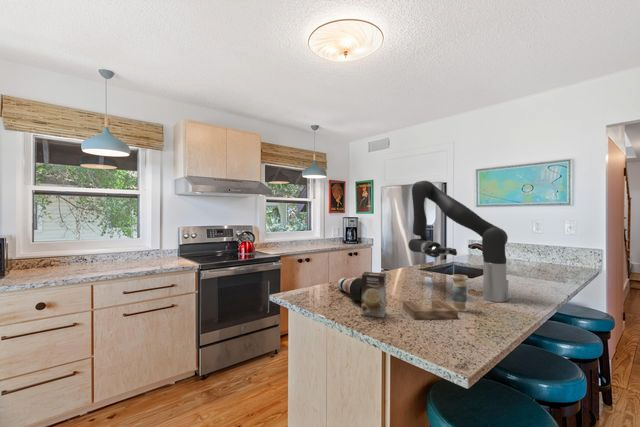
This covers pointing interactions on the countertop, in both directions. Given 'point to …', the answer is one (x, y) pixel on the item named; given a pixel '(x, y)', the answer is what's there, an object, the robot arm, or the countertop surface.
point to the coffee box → (373, 294)
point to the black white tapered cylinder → (352, 287)
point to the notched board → (430, 310)
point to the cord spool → (459, 292)
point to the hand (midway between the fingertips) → (446, 253)
